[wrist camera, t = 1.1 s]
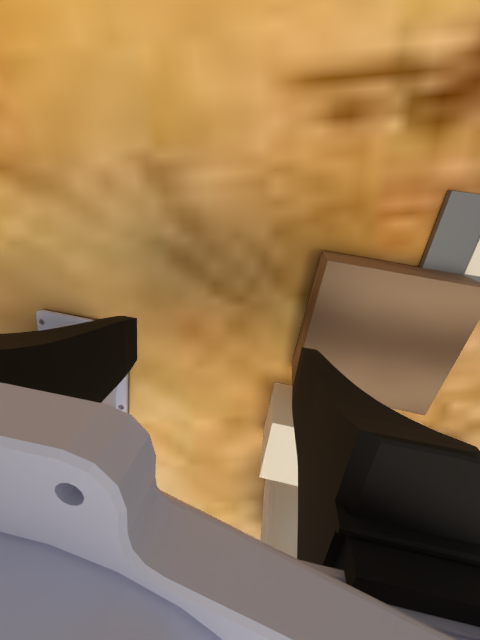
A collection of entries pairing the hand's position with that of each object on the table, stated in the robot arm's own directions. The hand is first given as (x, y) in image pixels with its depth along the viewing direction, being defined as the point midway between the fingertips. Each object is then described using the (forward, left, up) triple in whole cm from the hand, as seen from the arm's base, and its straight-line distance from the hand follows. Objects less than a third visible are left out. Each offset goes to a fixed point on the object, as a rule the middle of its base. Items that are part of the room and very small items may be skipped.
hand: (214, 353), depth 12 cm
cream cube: (-9, -6, -10) cm, 15 cm away
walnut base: (0, -9, -9) cm, 13 cm away
